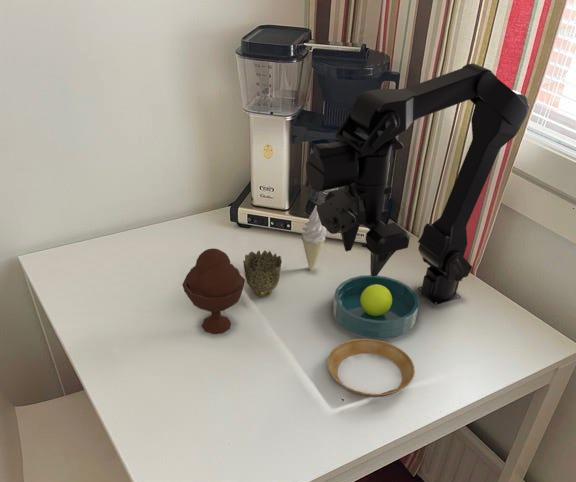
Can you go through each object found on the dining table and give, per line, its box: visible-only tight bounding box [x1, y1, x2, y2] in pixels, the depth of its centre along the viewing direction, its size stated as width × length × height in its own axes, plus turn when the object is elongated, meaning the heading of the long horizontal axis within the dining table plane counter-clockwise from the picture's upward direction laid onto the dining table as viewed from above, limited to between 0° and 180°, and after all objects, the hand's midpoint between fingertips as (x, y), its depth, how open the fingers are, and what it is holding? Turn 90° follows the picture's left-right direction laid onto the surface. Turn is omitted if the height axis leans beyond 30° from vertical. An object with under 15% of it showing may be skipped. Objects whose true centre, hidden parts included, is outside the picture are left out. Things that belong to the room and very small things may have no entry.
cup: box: [242, 250, 283, 298], centre depth 120 cm, size 8×7×8 cm
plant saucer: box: [327, 338, 416, 398], centre depth 104 cm, size 15×15×3 cm
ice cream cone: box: [300, 205, 328, 271], centre depth 125 cm, size 5×5×15 cm
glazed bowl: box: [332, 274, 420, 340], centre depth 117 cm, size 16×16×4 cm
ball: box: [360, 284, 392, 316], centre depth 116 cm, size 6×6×6 cm
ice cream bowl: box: [181, 247, 246, 335], centre depth 110 cm, size 11×11×15 cm
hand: (360, 262), depth 109 cm, fingers open, 9 cm apart
